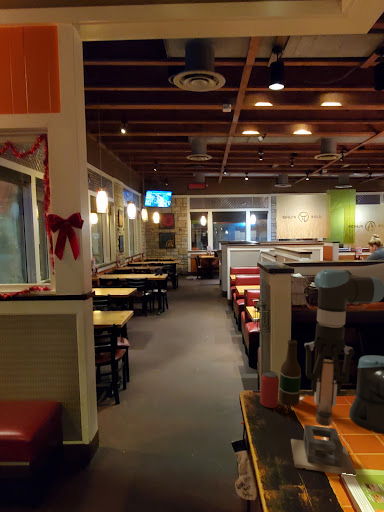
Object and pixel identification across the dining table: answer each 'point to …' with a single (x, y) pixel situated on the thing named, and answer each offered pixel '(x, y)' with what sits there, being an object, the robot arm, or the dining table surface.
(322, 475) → the dining table surface
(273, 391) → the beer can
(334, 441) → the collar stand
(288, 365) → the beer bottle
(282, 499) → the dining table surface
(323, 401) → the copper tube
